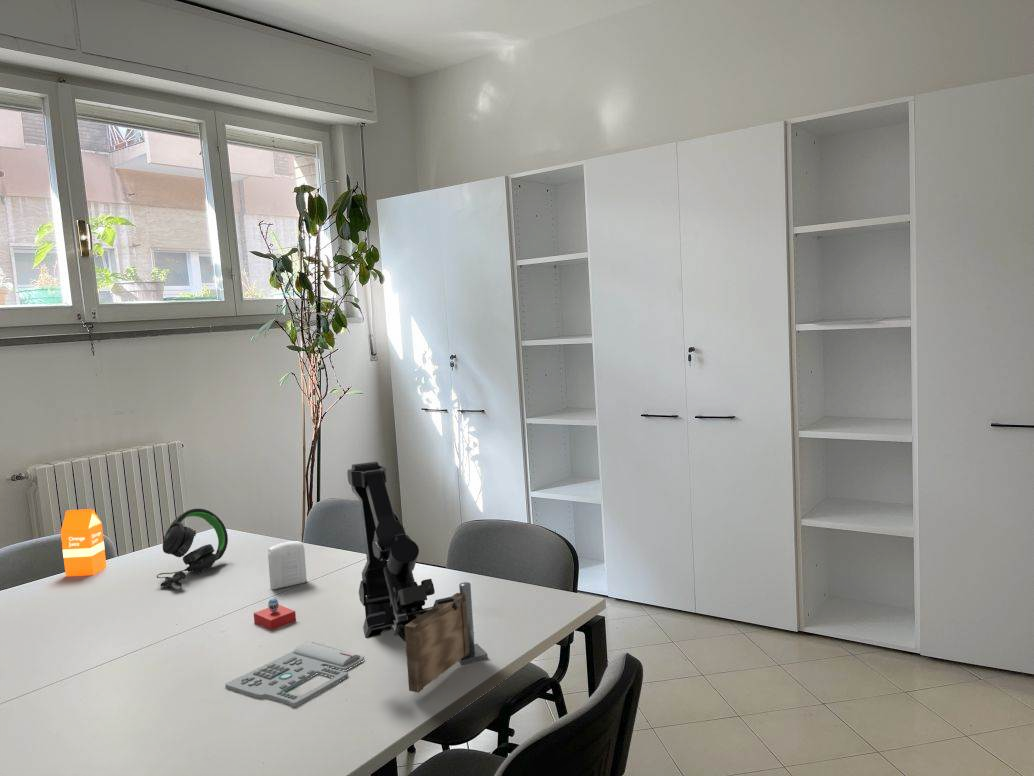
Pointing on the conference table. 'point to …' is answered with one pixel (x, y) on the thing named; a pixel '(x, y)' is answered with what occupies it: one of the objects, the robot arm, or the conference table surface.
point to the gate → (436, 642)
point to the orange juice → (82, 543)
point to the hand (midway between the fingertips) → (421, 656)
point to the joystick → (274, 615)
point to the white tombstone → (287, 564)
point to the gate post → (471, 629)
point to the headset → (181, 541)
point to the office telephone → (295, 673)
